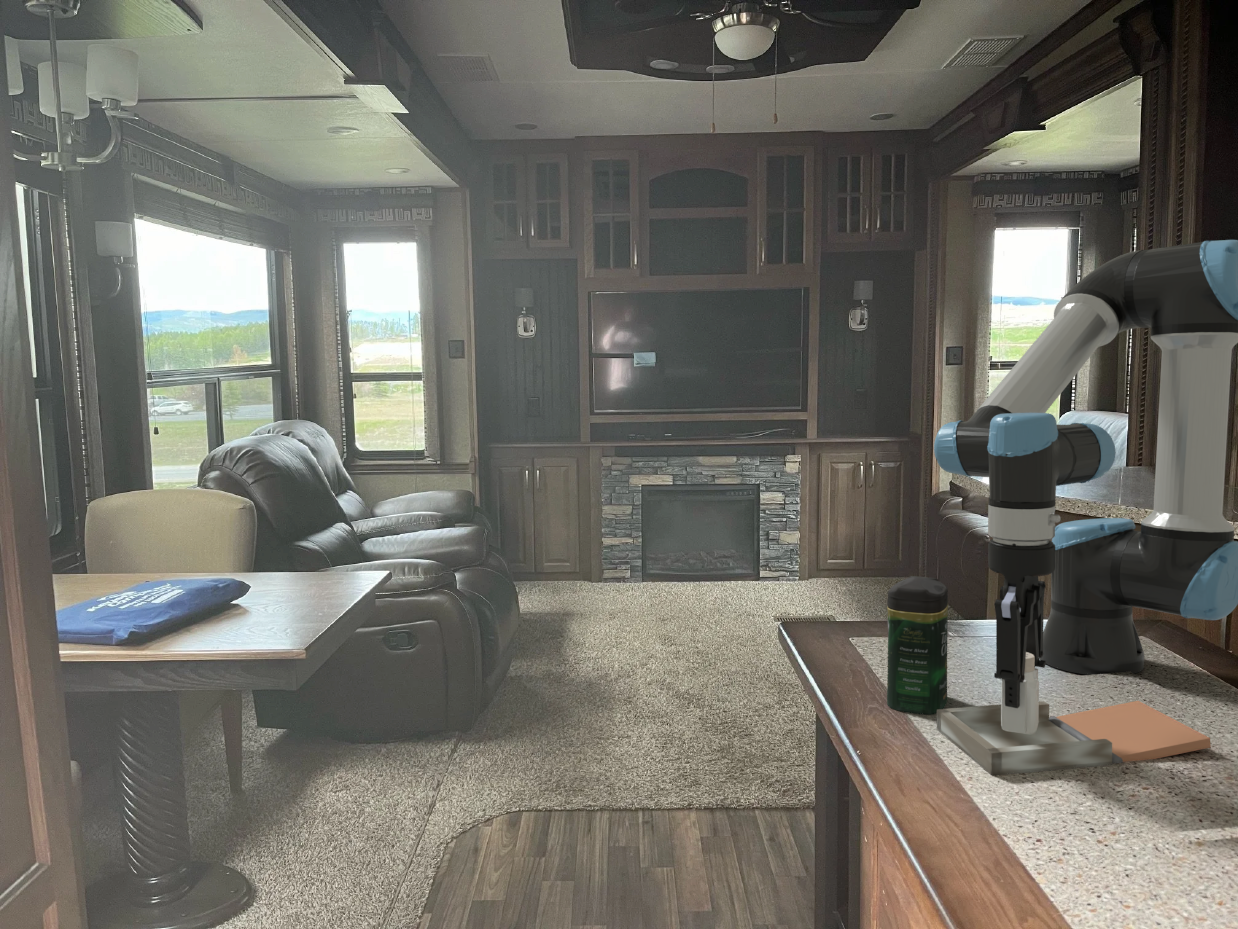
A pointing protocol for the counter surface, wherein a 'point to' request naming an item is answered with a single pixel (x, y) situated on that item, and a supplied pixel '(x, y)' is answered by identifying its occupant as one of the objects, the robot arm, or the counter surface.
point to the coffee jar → (917, 645)
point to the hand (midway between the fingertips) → (1019, 723)
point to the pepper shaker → (1030, 695)
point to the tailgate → (1133, 731)
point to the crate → (1018, 742)
